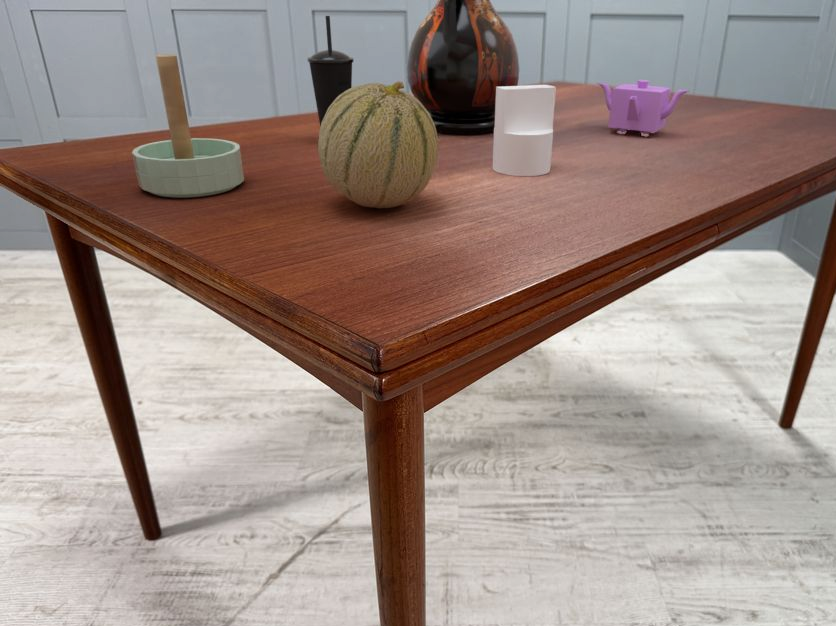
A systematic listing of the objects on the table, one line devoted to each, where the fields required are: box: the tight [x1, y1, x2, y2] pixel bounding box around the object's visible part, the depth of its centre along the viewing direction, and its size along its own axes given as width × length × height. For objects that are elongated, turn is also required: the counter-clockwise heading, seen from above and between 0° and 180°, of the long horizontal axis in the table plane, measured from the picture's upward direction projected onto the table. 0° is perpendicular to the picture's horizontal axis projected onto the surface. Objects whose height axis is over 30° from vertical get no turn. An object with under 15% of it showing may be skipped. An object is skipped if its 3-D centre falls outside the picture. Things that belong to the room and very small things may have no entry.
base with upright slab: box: [492, 84, 557, 177], centre depth 101 cm, size 9×9×12 cm
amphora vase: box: [406, 0, 520, 135], centre depth 126 cm, size 22×22×28 cm
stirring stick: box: [155, 53, 194, 159], centre depth 86 cm, size 2×2×16 cm
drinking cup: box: [306, 15, 355, 127], centre depth 114 cm, size 8×8×20 cm
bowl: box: [131, 137, 245, 198], centre depth 90 cm, size 13×13×5 cm
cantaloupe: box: [317, 80, 439, 209], centre depth 82 cm, size 15×15×15 cm
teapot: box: [596, 79, 690, 134], centre depth 129 cm, size 18×13×10 cm
